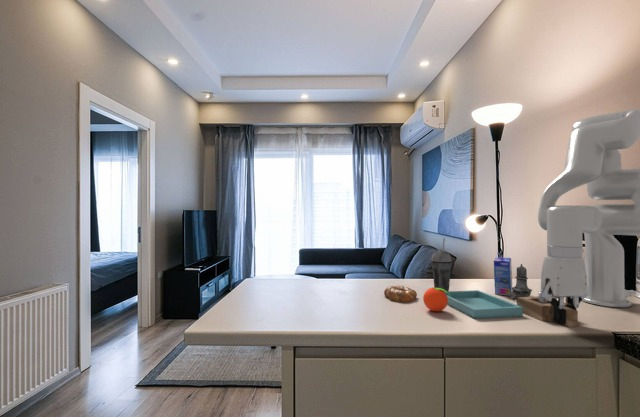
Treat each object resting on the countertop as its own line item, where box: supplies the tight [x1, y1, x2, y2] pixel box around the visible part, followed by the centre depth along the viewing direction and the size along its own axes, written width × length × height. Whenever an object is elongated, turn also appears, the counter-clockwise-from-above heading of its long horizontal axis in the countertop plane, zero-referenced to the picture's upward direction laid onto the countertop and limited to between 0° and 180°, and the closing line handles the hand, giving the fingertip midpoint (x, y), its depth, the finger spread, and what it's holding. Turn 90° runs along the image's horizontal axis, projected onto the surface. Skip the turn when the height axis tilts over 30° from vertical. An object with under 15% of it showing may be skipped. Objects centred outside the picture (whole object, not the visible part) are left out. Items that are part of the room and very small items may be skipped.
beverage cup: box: [430, 237, 453, 292], centre depth 118 cm, size 7×7×20 cm
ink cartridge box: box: [493, 251, 513, 297], centre depth 119 cm, size 10×6×14 cm, turn 148°
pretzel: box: [383, 285, 418, 303], centre depth 112 cm, size 12×11×4 cm
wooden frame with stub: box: [516, 295, 579, 328], centre depth 91 cm, size 9×14×4 cm, turn 9°
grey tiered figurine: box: [511, 263, 533, 302], centre depth 109 cm, size 6×6×12 cm
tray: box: [445, 289, 524, 320], centre depth 101 cm, size 15×20×2 cm
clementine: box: [422, 286, 451, 313], centre depth 97 cm, size 8×7×7 cm
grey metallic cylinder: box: [538, 290, 547, 304], centre depth 93 cm, size 2×2×6 cm
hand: (564, 321), depth 86 cm, fingers closed on wooden frame with stub, 2 cm apart
